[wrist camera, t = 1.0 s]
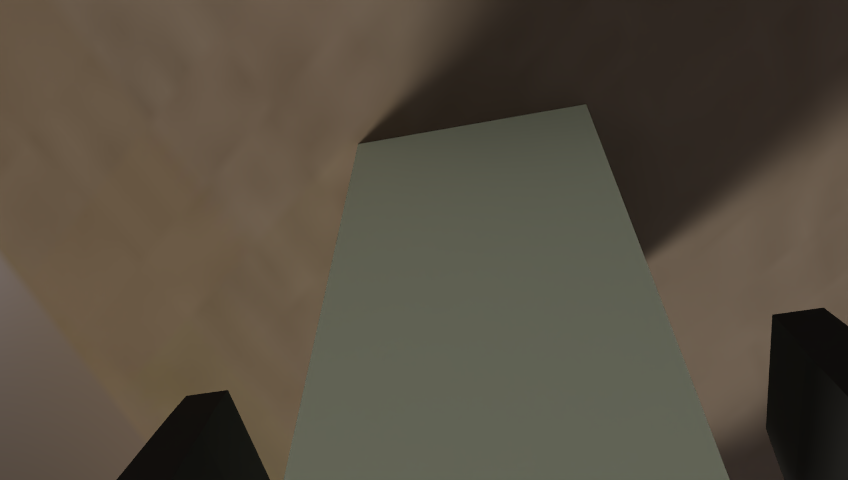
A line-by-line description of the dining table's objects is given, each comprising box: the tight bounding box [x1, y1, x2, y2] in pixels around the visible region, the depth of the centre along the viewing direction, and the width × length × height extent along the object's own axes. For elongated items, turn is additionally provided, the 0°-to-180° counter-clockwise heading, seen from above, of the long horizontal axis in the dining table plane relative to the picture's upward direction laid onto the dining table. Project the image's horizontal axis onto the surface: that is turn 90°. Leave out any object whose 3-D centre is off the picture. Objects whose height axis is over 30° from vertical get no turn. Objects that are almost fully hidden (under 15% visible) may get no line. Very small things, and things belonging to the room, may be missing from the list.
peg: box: [284, 104, 730, 480], centre depth 11 cm, size 4×4×8 cm
